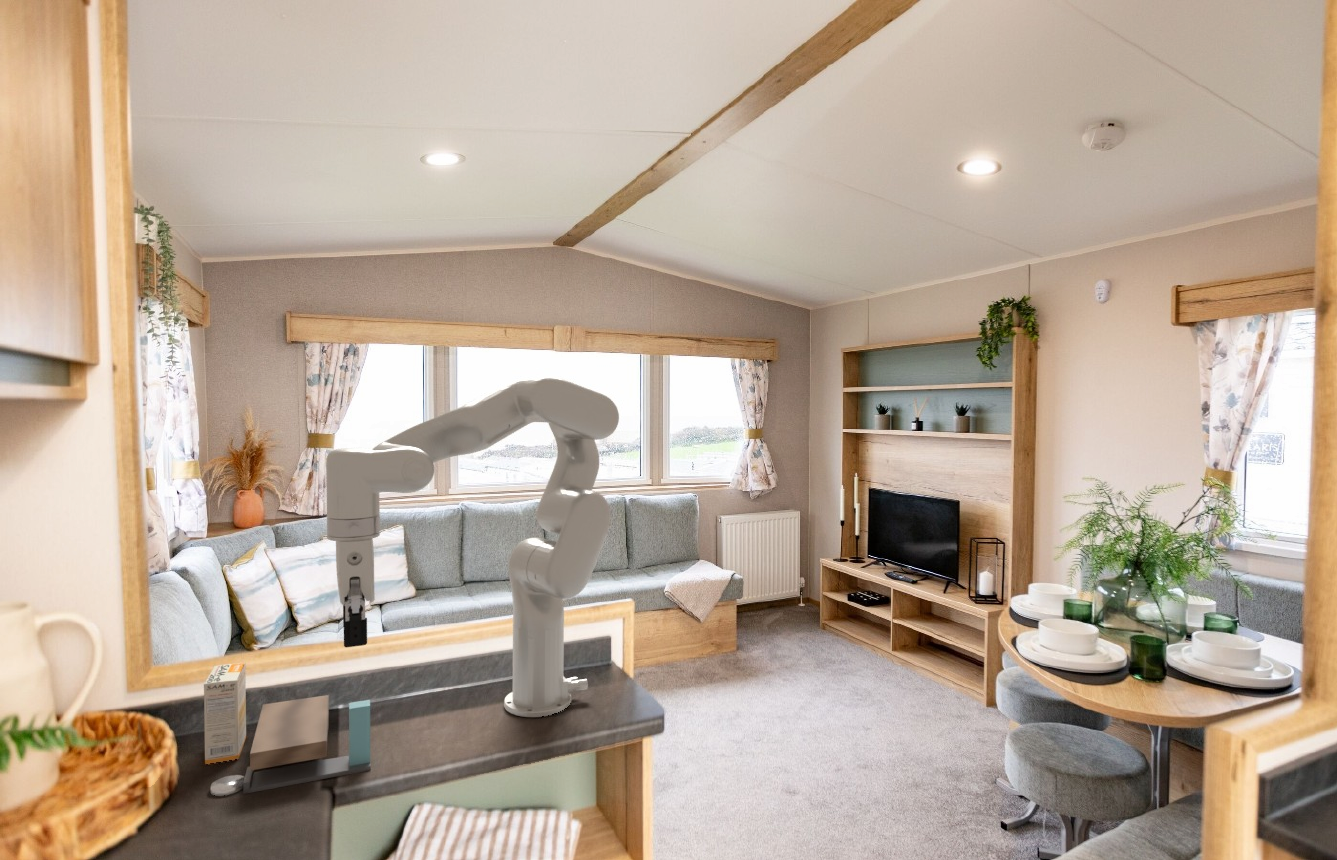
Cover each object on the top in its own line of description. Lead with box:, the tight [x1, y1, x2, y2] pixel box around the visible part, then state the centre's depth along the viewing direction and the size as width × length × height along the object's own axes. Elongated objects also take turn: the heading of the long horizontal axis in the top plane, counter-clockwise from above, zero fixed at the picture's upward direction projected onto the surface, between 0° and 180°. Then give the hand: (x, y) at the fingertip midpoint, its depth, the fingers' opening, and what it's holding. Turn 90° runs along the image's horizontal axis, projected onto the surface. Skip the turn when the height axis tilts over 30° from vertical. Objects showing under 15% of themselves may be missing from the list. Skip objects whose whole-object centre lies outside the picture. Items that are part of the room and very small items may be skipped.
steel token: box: [210, 774, 245, 797], centre depth 104 cm, size 4×4×1 cm
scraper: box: [242, 699, 371, 795], centre depth 108 cm, size 17×5×10 cm, turn 115°
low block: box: [249, 694, 330, 771], centre depth 113 cm, size 10×18×6 cm, turn 25°
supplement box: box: [203, 662, 247, 765], centre depth 114 cm, size 8×5×13 cm, turn 23°
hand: (354, 636), depth 110 cm, fingers open, 9 cm apart
